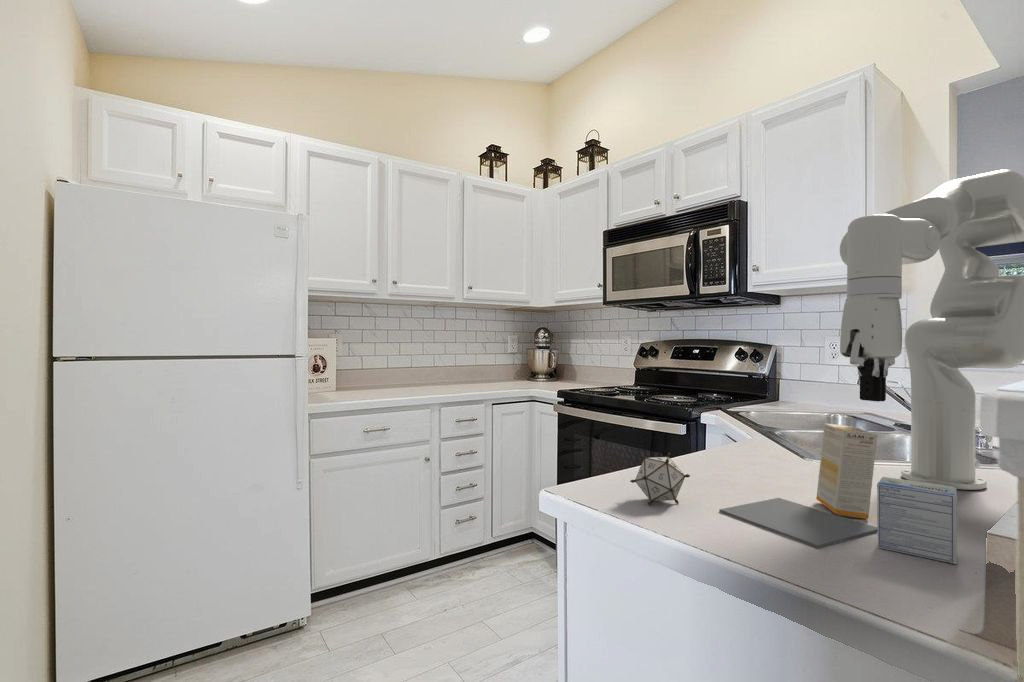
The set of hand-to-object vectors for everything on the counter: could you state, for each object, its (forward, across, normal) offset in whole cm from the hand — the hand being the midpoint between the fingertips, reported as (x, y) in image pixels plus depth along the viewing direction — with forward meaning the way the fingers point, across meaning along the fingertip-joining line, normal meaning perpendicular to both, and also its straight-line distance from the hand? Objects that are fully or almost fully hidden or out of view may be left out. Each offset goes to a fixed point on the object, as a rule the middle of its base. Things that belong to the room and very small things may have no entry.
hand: (872, 400), depth 86 cm
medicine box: (+18, +16, +14) cm, 28 cm away
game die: (+18, +31, -16) cm, 39 cm away
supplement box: (+17, +8, 0) cm, 19 cm away
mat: (+18, +19, 0) cm, 26 cm away
